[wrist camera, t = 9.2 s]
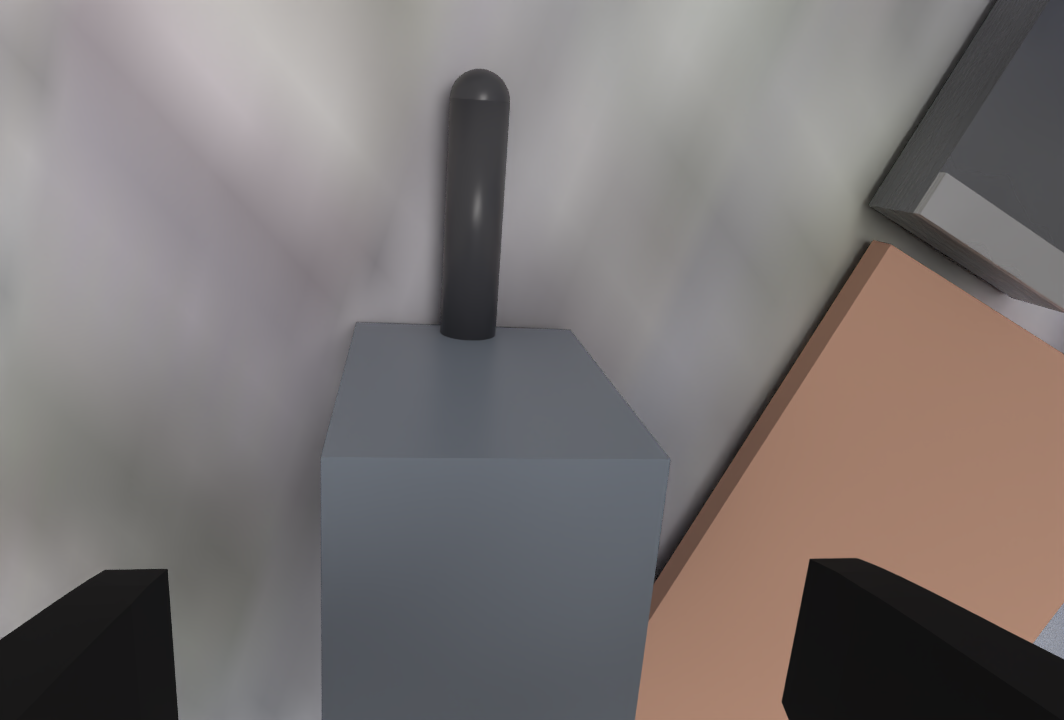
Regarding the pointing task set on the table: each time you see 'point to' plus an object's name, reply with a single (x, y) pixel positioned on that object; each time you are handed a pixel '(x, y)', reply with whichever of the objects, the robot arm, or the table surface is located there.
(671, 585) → the mat
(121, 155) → the table surface
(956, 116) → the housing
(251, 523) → the table surface
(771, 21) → the table surface
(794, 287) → the table surface
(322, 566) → the plug
